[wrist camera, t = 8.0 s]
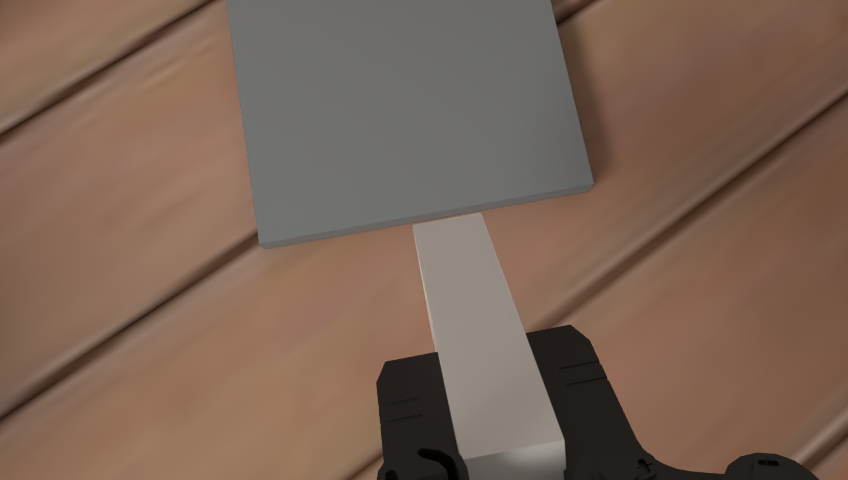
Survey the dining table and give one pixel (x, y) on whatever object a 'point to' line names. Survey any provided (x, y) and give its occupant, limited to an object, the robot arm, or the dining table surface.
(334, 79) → the slate base board
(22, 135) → the dining table surface
